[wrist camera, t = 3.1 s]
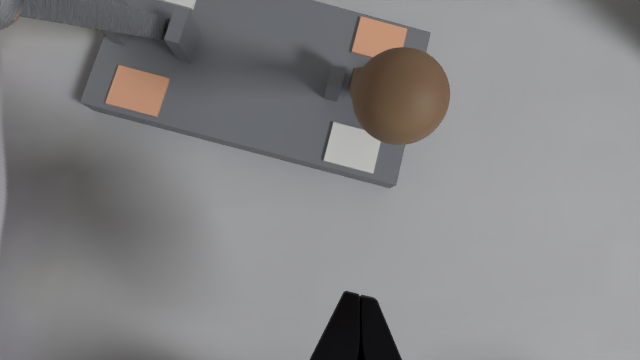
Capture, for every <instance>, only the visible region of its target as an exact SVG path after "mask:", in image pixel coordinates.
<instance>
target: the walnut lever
mask: <svg viewBox="0 0 640 360" xmlns="http://www.w3.org/2000/svg"><path fill="white" fill-rule="evenodd" d="M348 91H349V93H350V96H351V98H352V102H353V109H354V113H355V116H356V118H357V120H358V122H359V123H360V125H361V126H362V128H363V129H364V130H365V131H366V132H367V133H368V134H369V135H371V136H372V137H374V138H375V139H377V140H379V141H381V142H384V143H387V144H393V145H405V144H410V143H414V142H417V141H419V140H421V139H423V138H425V137H426V136H428V135H429V134H431V133H432V132H433V131H434V130H435V129H436V128H437V127H438V126H439V124H440V123H441V122H442V120H443V118H444V116H445V114H446V112H447V109H448V105H449V100H450V88H449V83H448V79H447V76H446V74H445V72H444V70H443V68H442V67H441V66H440V64H439V63H438V62H437V61H436V60H435V59H434V58H433V57H431V56H430V55H429V54H427V53H425V52H423V51H421V50H418V49H414V48H408V47H398V48H392V49H388V50H386V51H383V52H381V53H379V54H377V55H376V56H374V57H373V58H372V59H370V60H369V61H368V62H367V63H366V64H365V66H364V67H357V68H353V71H352V75H351V78H350V82H349V86H348Z"/></svg>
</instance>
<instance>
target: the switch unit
mask: <svg viewBox="0 0 640 360" xmlns="http://www.w3.org/2000/svg"><path fill="white" fill-rule="evenodd" d="M110 1H113V2H116V3H120V4H123V5H126V6H130V7H133V8H136V9H140V10H143V11H146V12H150V13H153V14H156V15H160V16H163V17H166V18H170V19H171V20H170V23H169V26H168V29H167V32H166V35H165V38H164V40H159V39H153V38H147V37H141V36H135V35H129V34H123V33H117V32H111V31H105V30H101V31H102V32H103V33H104V34H105V35H104V37H103V40H102V43H101V46H100V48H99V51H98V54H97V57H96V59H95V62H94V65H93V67H92V70H91V73H90V76H89V78H88V81H87V84H86V87H85V89H84V92H83V95H82V97H81V100H80V103H82V104H83V105H85V106H87V107H89V108H90V109H92V110H94V111H97V112H101V113H105V114H109V115H113V116H116V117H120V118H124V119H128V120H132V121H136V122H139V123H143V124H147V125H151V126H155V127H158V128H162V129H166V130H170V131H174V132H178V133H181V134H185V135H189V136H193V137H197V138H200V139H204V140H208V141H212V142H216V143H220V144H223V145H227V146H231V147H235V148H239V149H242V150H246V151H250V152H254V153H258V154H262V155H265V156H269V157H273V158H277V159H281V160H284V161H288V162H292V163H296V164H300V165H304V166H307V167H311V168H315V169H319V170H323V171H326V172H330V173H334V174H338V175H342V176H346V177H349V178H353V179H357V180H361V181H365V182H368V183H372V184H376V185H380V186H384V187H388V188H391V187H393V186H395V185H396V183H397V178H398V174H399V170H400V165H401V161H402V156H403V152H404V147H405V145H393V144H387V143H384V142H381V141H379V140H377V139H375V138H374V137H372V136H371V135H369V134H368V133H367V132H366V131H365V130H364V129H363V128H362V126H361V125H360V123H359V122H358V120H357V118H356V116H355V113H354V109H353V102H352V98H351V96H350V93H349V91H348V86H349V82H350V78H351V75H352V71H353V68H357V67H364V66H365V64H366V63H367V62H368V61H369V60H370V59H372V58H373V57H374V56H376V55H377V54H379V53H381V52H383V51H386V50H388V49H392V48H398V47H408V48H414V49H418V50H421V51H423V52H425V53H426V50H427V46H428V41H429V37H430V32H427V31H423V30H419V29H416V28H412V27H408V26H405V25H401V24H397V23H394V22H390V21H386V20H383V19H379V18H375V17H372V16H368V15H364V14H361V13H357V12H353V11H350V10H346V9H342V8H339V7H335V6H331V5H328V4H324V3H320V2H317V1H313V0H110Z"/></svg>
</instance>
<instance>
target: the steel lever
mask: <svg viewBox="0 0 640 360" xmlns="http://www.w3.org/2000/svg"><path fill="white" fill-rule="evenodd" d="M20 16H22V17H28V18H34V19H40V20H46V21H52V22H58V23H63V24H69V25H75V26H81V27H87V28H93V29H99V30H105V31H111V32H117V33H123V34H129V35H135V36H141V37H147V38H153V39H159V40H164V38H165V35H166V32H167V29H168V26H169V23H170V20H171V19H170V18H166V17H163V16H160V15H156V14H153V13H150V12H146V11H143V10H140V9H136V8H133V7H130V6H126V5H123V4H120V3H116V2H113V1H110V0H0V30H2V29H5V28H7V27H9V26H10V25H12V24H13V23H14V22H15V21H17V20H18V18H19V17H20Z"/></svg>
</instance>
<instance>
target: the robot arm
mask: <svg viewBox="0 0 640 360" xmlns="http://www.w3.org/2000/svg"><path fill="white" fill-rule="evenodd" d="M310 360H402V359H401V356H400V354H399V352H398V349H397V347H396V344H395V342H394V340H393V337H392V335H391V332H390V330H389V328H388V325H387V323H386V320H385V318H384V315H383V313H382V311H381V308H380V306H379V303H378V301H377V300H376V299H375V298H373V297H369V296H365V295H361V296H359V294H357V293H353V292H349V291H345V292H344V293H343V294H342V296H341V298H340V300H339V302H338V304H337V306H336V308H335V310H334V312H333V314H332V316H331V318H330V320H329V322H328V324H327V326H326V328H325V330H324V332H323V334H322V336H321V338H320V340H319V342H318V344H317V346H316V348H315V350H314V352H313V354H312V356H311V358H310Z"/></svg>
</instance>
